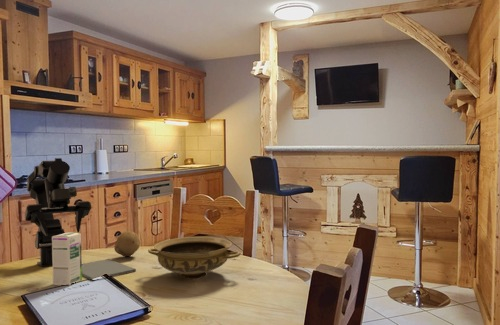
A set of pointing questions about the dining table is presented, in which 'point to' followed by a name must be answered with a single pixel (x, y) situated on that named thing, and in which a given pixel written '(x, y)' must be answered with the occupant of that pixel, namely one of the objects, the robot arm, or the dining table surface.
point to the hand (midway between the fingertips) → (63, 233)
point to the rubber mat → (105, 268)
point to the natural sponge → (127, 243)
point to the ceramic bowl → (193, 255)
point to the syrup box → (66, 258)
